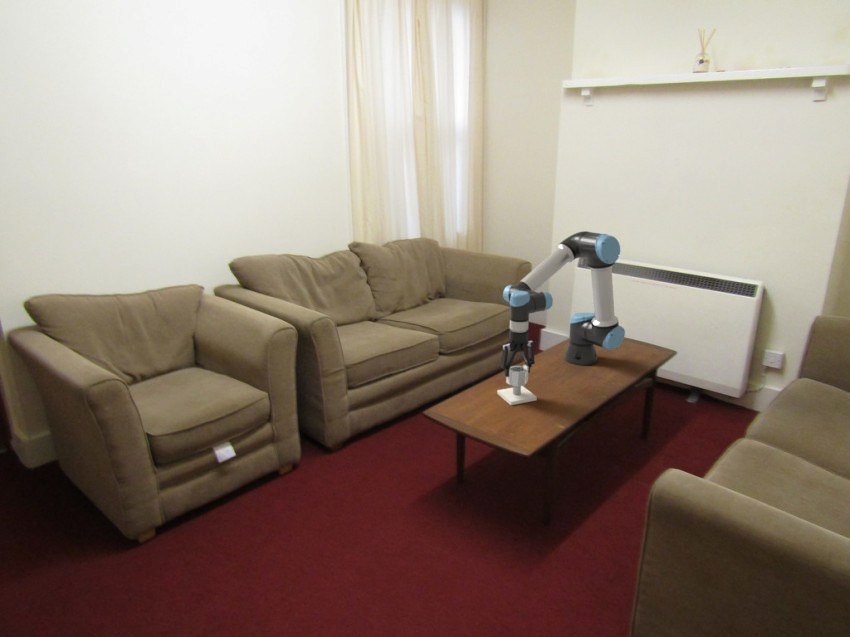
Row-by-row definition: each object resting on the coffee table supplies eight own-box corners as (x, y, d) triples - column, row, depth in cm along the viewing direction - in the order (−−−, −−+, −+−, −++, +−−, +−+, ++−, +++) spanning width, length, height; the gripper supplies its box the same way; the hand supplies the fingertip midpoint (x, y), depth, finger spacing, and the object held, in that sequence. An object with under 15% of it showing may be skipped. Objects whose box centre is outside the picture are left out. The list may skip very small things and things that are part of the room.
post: (522, 388, 244) (522, 370, 241) (536, 400, 233) (537, 381, 230) (497, 393, 240) (497, 375, 237) (510, 405, 229) (511, 386, 227)
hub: (520, 377, 239) (520, 364, 237) (529, 384, 232) (529, 370, 231) (505, 380, 236) (505, 367, 235) (513, 387, 230) (514, 373, 228)
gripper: (535, 323, 234) (533, 374, 241) (492, 330, 227) (491, 382, 234) (545, 329, 227) (542, 381, 234) (500, 335, 221) (499, 389, 228)
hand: (517, 381), depth 234 cm, fingers closed on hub, 7 cm apart
